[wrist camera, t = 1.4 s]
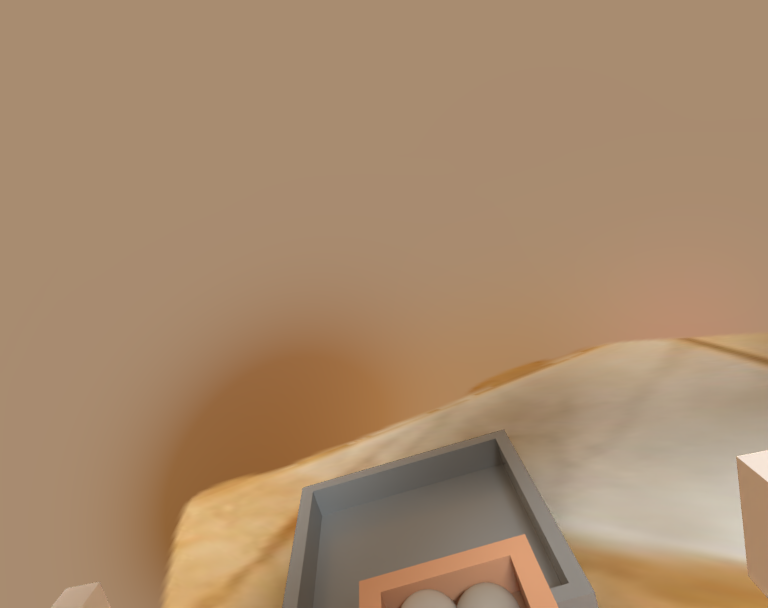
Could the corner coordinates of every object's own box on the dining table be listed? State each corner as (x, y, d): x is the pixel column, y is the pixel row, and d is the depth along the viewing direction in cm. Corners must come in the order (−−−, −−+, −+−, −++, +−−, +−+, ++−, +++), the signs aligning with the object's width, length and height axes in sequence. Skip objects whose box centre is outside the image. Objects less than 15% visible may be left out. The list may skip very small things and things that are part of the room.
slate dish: (512, 464, 46) (503, 429, 45) (606, 642, 29) (594, 592, 28) (315, 521, 47) (302, 487, 46) (290, 730, 29) (269, 683, 29)
